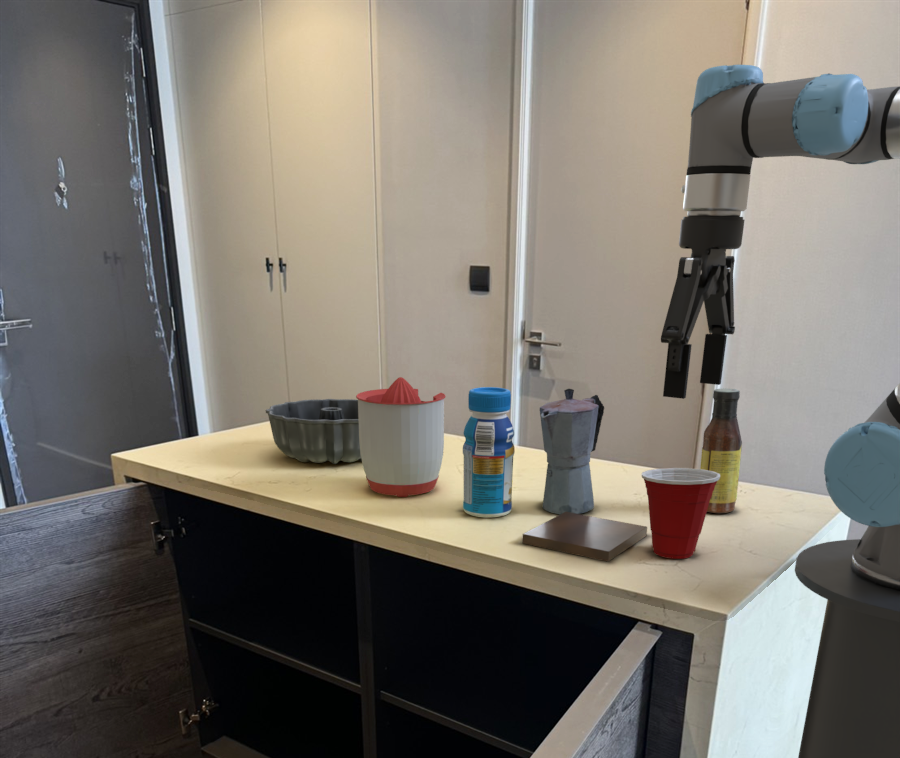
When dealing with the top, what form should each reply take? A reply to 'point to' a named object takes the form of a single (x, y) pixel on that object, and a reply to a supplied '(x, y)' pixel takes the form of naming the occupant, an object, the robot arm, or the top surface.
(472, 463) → the beverage bottle
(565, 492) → the moka pot
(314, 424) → the bundt pan
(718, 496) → the sauce bottle
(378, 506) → the top surface
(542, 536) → the trivet board
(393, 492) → the citrus juicer
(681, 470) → the plastic cup
